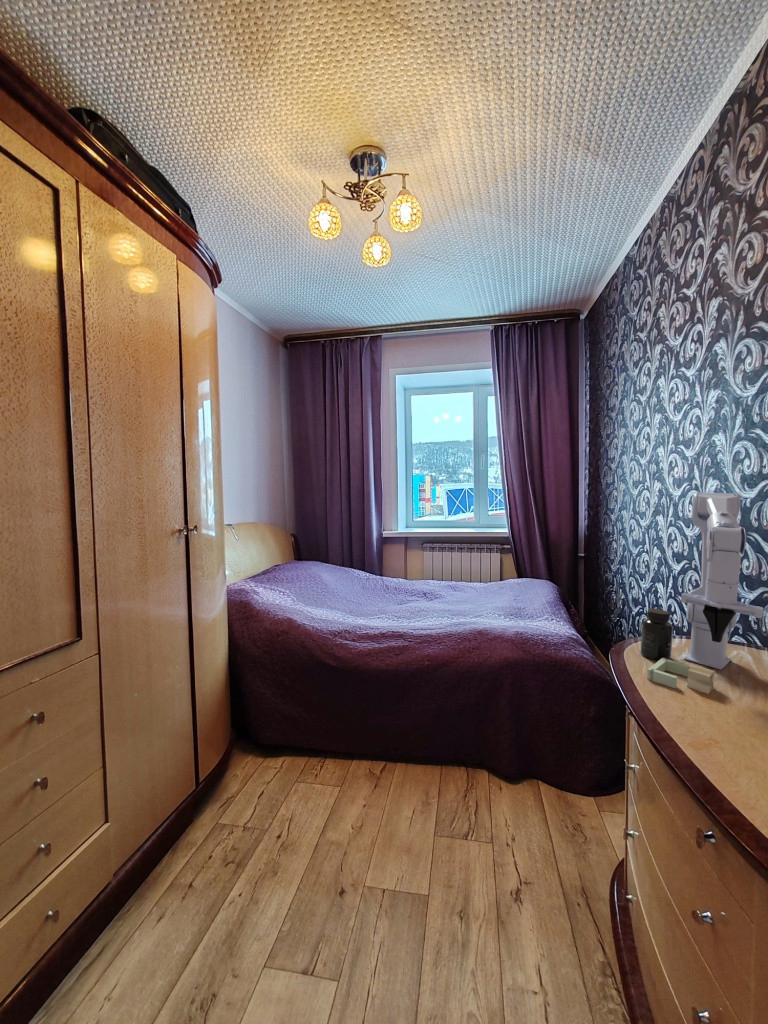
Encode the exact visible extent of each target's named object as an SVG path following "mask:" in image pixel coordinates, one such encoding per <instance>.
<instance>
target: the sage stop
mask: <svg viewBox="0 0 768 1024" xmlns="http://www.w3.org/2000/svg"><path fill="white" fill-rule="evenodd" d="M689 669H690V664H685V663H682V662H679V661H677V660H672V659H666V658H662V659H660V660H659V661H658V660H657V662H655V663H654V664H652V665H651V666H650V667H649V668H647V674H646V679H647V680H648V681H651V682H654V683H656V684H660V685H664V686H666V687H669V688H673V689H676V688H677V683H678V676H677V675H681V676H682V677H683V676H684V677H688V670H689ZM665 671H668V672H671V673H674V674H670V673H668V672H665ZM675 674H677V675H675Z"/></svg>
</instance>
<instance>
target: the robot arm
mask: <svg viewBox="0 0 768 1024" xmlns="http://www.w3.org/2000/svg"><path fill="white" fill-rule="evenodd" d="M692 496H693V497H692V505H691V513H692V514H691V521H692V524H693V526H695V527H697V528H698V529H700V534H701V537H702V540H701V541H702V544H701V573H700V574H701V576H700V578H701V579H700V581H701V582H700V587H698V588H695V589H693V590H691V591H689V593H687V592H683V593H681V597H680V603H683V604H686V615H685V616H686V617H685V618H686V621H687V622H688V623H691V635H690V648H689V652H688V653H687V654H686V655H684V657H683V660H685V661H689V662H692V663H695V664H700V665H703V666H706V667H710V668H714V669H717V670H723V669H724V668H725V667H726V666H727V664H728V663H729V662H730V661H731V660H732V659H731V657H729V656H727V653H728V652H727V651H728V643H729V642H728V639H729V632H730V630H733V629H734V628H736V624H737V618H738V617H737V615H738V614H742V615H747V616H751V617H754V618H757V619H761V618H763V615H764V607H762V606H756V605H752V604H748V603H745V602H741V601H738V595H739V594H738V591H739V581H740V572H741V571H740V570H741V562H742V561H741V560H742V555H744V552H745V550H746V545H747V534H746V529H745V527H742V526H741V527H739V526H740V525H739V523H738V516H739V514H740V511H741V510H740V509H741V496H740V495H739V493H738V492H734V493H730V492H729V493H726V492H725V493H724V492H702V491H701V492H699V491H695V493H693V495H692Z"/></svg>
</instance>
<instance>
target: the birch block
mask: <svg viewBox="0 0 768 1024" xmlns="http://www.w3.org/2000/svg"><path fill="white" fill-rule="evenodd" d="M714 680H715V670H711V669H709V668H705V667H701V666H698V665H696V664H695V665H692V666H691V667H689V670H688V676H687V679H686V681H687V682H686V688H689V689H692V690H695V691H698V692H701V693H704V694H708V695H709V693H711V691H712V690H713V689H714V682H715V681H714Z"/></svg>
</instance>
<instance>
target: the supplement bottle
mask: <svg viewBox="0 0 768 1024" xmlns="http://www.w3.org/2000/svg"><path fill="white" fill-rule="evenodd" d="M646 617H647V618H645V619H644V620H643V622H642V623H641V624H642V625H641V627H642V628H641V637H640V638H641V639H640V655H642V657H645V658H647V659H650V660H653V661H657V662H658V661H659V660H660V659H662V658H666V659H669V660H671V658H672V645H673V634H674V627H673V625H672V623H670V622H669V621H670V620H671V619H670V612H669V611H666V610H663V609H660V608H659V609H658V608H649V609H647V614H646Z"/></svg>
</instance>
